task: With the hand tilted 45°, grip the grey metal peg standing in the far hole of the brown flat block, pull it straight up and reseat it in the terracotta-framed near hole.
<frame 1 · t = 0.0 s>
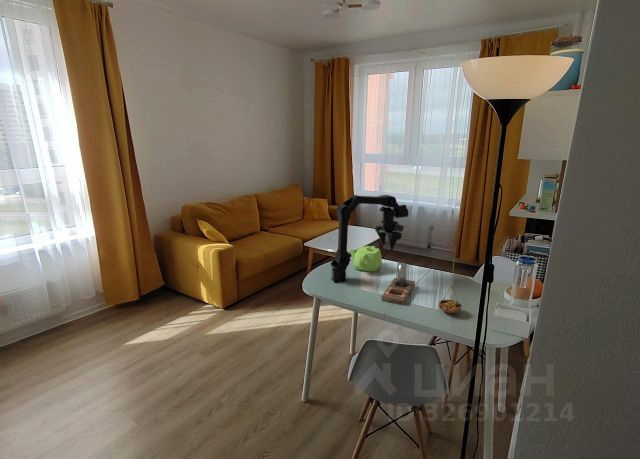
hand: (387, 247, 184), 15 cm above the table, tool pointing down, fingers open, 9 cm apart
brown flat block: (398, 293, 163), on the table
bird feeder: (449, 312, 145), on the table
teapot: (364, 268, 196), on the table
peg: (401, 289, 168), resting in brown flat block
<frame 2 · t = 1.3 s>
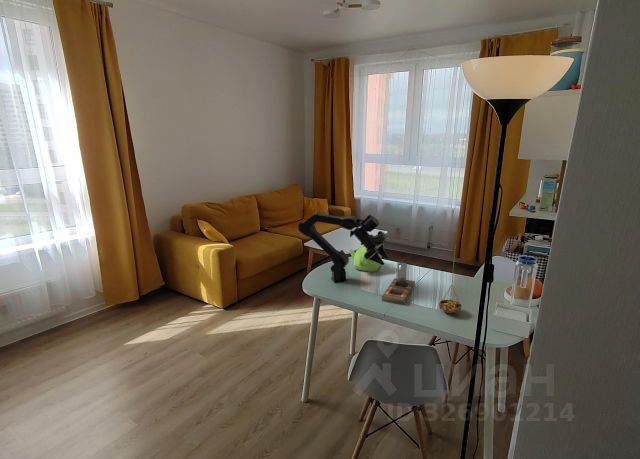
hand: (385, 261, 167), 13 cm above the table, tool tilted 45°, fingers open, 9 cm apart
nothing on the table moved.
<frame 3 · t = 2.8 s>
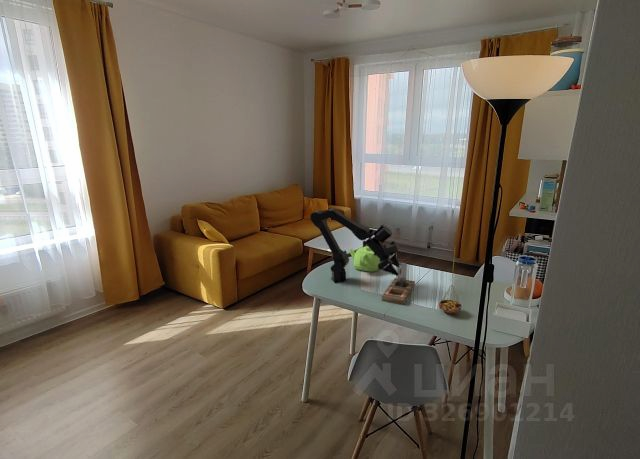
hand: (399, 271, 166), 9 cm above the table, tool tilted 45°, fingers open, 9 cm apart
nothing on the table moved.
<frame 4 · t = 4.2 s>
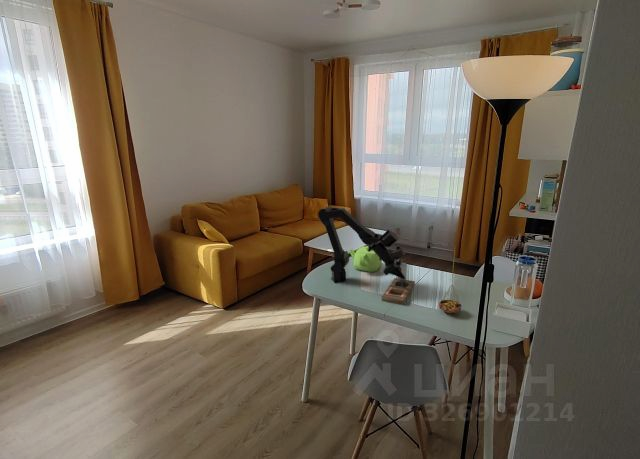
hand: (404, 276, 165), 7 cm above the table, tool tilted 45°, fingers closed on peg, 4 cm apart
peg: (401, 289, 168), resting in brown flat block, touching gripper
everything else where it was.
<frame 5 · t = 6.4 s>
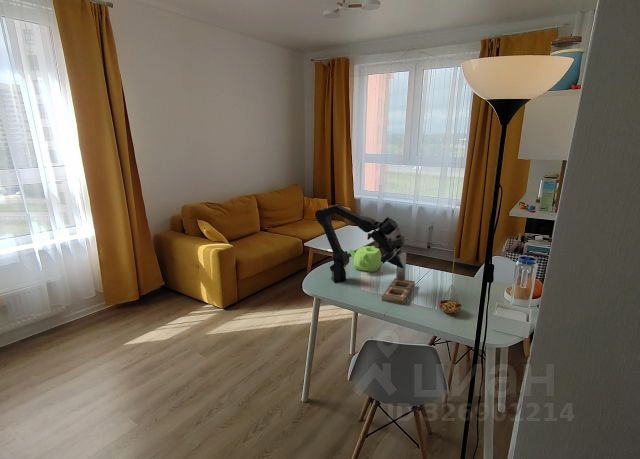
hand: (404, 266, 160), 13 cm above the table, tool tilted 45°, fingers closed on peg, 4 cm apart
peg: (400, 279, 163), point 7 cm above the table, touching gripper
everything else where it was.
when the fingers open (8 cm above the table, at t = 8.6 s): peg stays where it is, resting in brown flat block.
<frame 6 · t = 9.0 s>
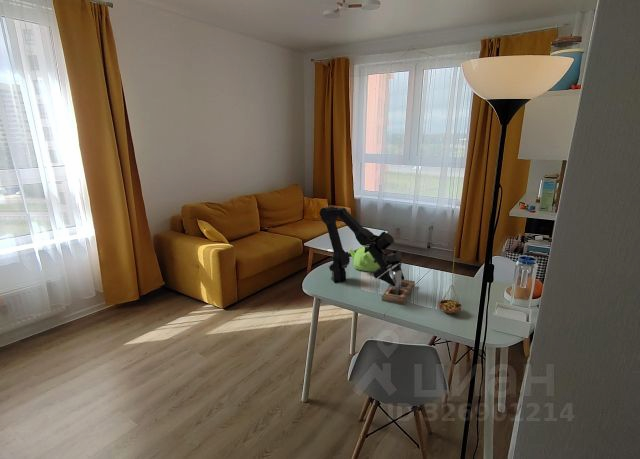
hand: (399, 282, 156), 8 cm above the table, tool tilted 45°, fingers open, 8 cm apart
peg: (395, 297, 159), resting in brown flat block
everything else where it was.
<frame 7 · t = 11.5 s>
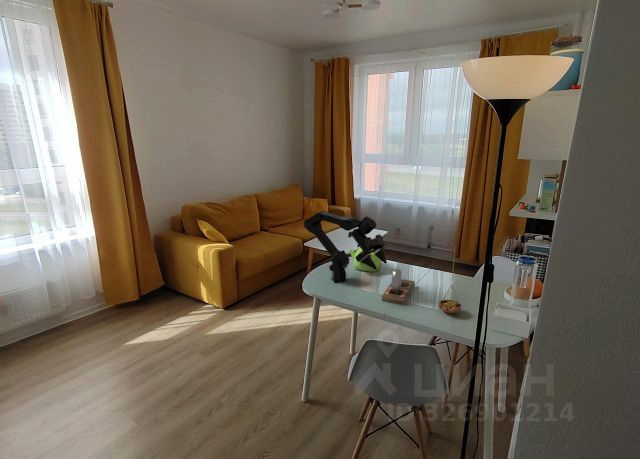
hand: (381, 266, 161), 14 cm above the table, tool tilted 45°, fingers open, 9 cm apart
nothing on the table moved.
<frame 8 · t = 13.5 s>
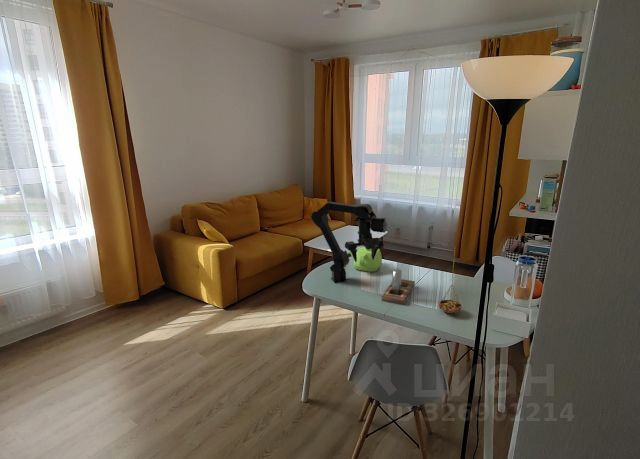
hand: (364, 260, 170), 13 cm above the table, tool pointing down, fingers open, 9 cm apart
nothing on the table moved.
at the end: peg 0.1 cm from the target spot on the brown flat block, point 0.0 cm above the brown flat block's base; peg tilted 1°; the gripper is holding nothing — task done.
